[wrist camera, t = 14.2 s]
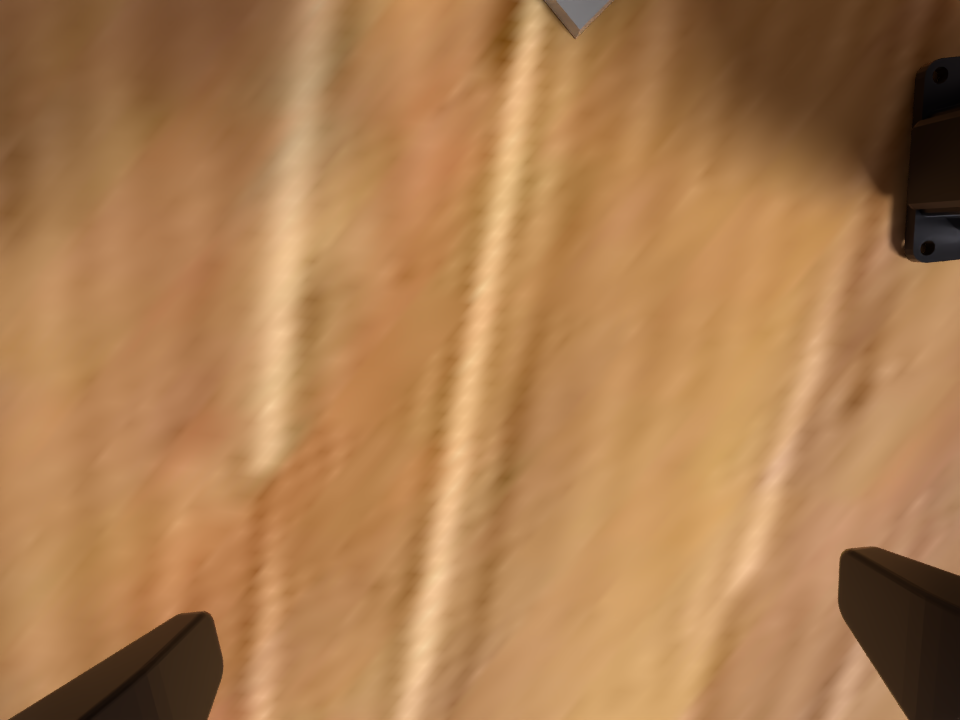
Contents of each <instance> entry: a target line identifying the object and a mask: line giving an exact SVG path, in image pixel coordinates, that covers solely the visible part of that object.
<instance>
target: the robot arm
mask: <svg viewBox="0 0 960 720" xmlns="http://www.w3.org/2000/svg"><path fill="white" fill-rule="evenodd" d="M934 71H936V72H937V73H938V81H937V83H935V82H934V81H933V77H932V76H933V72H934ZM923 243H925V244H926V249H925V251H924V252H923V253H921V250H920V248H921V245H922V244H923ZM904 250H905V255H906V257H907V258H908V259H909V260H910V261H912V262H923V263H929V262H938V261H948V260H958V259H960V56H959V57H949V58H941V59H938V60H935V61H932V62H930V63H927V64H925V65H924V66H923V67H921V68H920V70H919V71H918V73H917V75H916V79H915V92H914V107H913V123H912V131H911V146H910V162H909V178H908V193H907V216H906V232H905V247H904ZM838 604H839V609H840V612H841V614H842V617H843V619H844V620H845V622H846V624H847V625H848V627H849V628H850V630H851V631H852V633H853V635H854V636H855V638H856V639H857V641H858V642H859V644H860V645H861V647H862V649H863V650H864V652H865V653H866V655H867V656H868V658H869V659H870V661H871V663H872V664H873V666H874V667H875V669H876V670H877V672H878V673H879V675H880V677H881V678H882V680H883V681H884V683H885V684H886V686H887V687H888V689H889V691H890V692H891V694H892V695H893V697H894V698H895V700H896V702H897V703H898V705H899V706H900V708H901V709H902V711H903V712H904V714H905V715H906V717H907V718H908V720H960V576H959V575H956V574H953V573H950V572H947V571H944V570H941V569H939V568H936V567H933V566H930V565H927V564H924V563H921V562H918V561H916V560H913V559H910V558H907V557H904V556H901V555H898V554H895V553H893V552H890V551H887V550H884V549H881V548H878V547H871V546H870V547H860V548H851V549H846V550H845V551H843V552H842V554H841V556H840V563H839V586H838ZM222 674H223V657H222V653H221V649H220V645H219V640H218V636H217V632H216V628H215V624H214V620H213V617H212V616H211V614H209V613H208V612H206V611H201V612H191V613H181V614H178V615H176V616H174V617H173V618H171V619H169V620H168V621H166V622H165V623H163V624H161V625H160V626H158V627H157V628H155V629H153V630H152V631H150V632H149V633H147V634H145V635H144V636H142V637H140V638H139V639H137V640H136V641H134V642H132V643H131V644H129V645H128V646H126V647H124V648H123V649H121V650H120V651H118V652H116V653H115V654H113V655H112V656H110V657H108V658H107V659H105V660H104V661H102V662H100V663H99V664H97V665H95V666H94V667H92V668H91V669H89V670H87V671H86V672H84V673H83V674H81V675H79V676H78V677H76V678H75V679H73V680H71V681H70V682H68V683H67V684H65V685H63V686H62V687H60V688H58V689H57V690H55V691H54V692H52V693H50V694H49V695H47V696H46V697H44V698H42V699H41V700H39V701H38V702H36V703H34V704H33V705H31V706H30V707H28V708H26V709H25V710H23V711H22V712H20V713H18V714H17V715H15V716H13V717H12V718H10V719H9V720H207V719H208V717H209V714H210V711H211V708H212V705H213V702H214V699H215V696H216V693H217V690H218V687H219V685H220V682H221V678H222Z"/></svg>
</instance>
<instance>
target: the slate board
mask: <svg viewBox="0 0 960 720" xmlns="http://www.w3.org/2000/svg"><path fill="white" fill-rule="evenodd" d="M544 1H545V2H546V3H547V5H548V6H549V7H550V8H551V9H552V11H553V12H554V13H555V14H556V16H557V17H558V18H559V19H560V20H561V22H562V23H563V24H564V25H565V27H566V28H567V29H568V30H569V31H570V33H571V34H572V35H573V36H574V38H575V39H576V38H577V37H578V36H579V35H580V34H581V33H582V32H583V31H584V30H585V29H586V28H587V27H588V26H589V25H590V24H591V23H592V22H593V21H594V20H595V19H596V18H597V17H598V16H599V15H600V14H601V13H602V12H603V11H604V10H605V9H606V8H607V7H608V6H609V5H610V4H611V3H612V2H613V1H614V0H544Z"/></svg>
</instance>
